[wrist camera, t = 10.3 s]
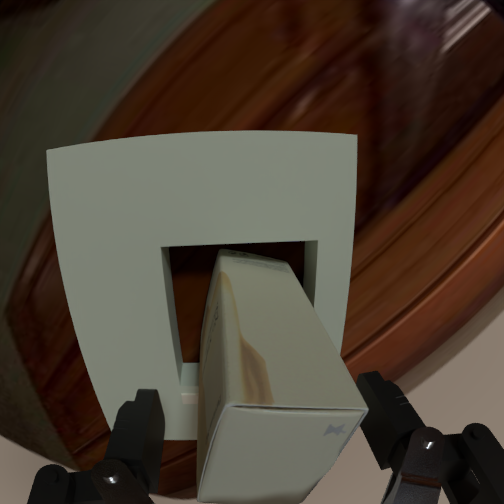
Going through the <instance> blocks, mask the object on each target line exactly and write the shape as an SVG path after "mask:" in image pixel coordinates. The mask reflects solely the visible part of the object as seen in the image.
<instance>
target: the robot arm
mask: <svg viewBox="0 0 504 504" xmlns="http://www.w3.org/2000/svg"><path fill="white" fill-rule="evenodd" d="M356 386H357V388H358V390H359V392H360V394H361V395H362V397H363V399H364V401H365V403H366V405H367V407H368V409H369V410H368V412H367V414H366V416H365V417H364V419H363V420H362V422H361V423H360V427H361V429H362V431H363V433H364V435H365V437H366V439H367V441H368V443H369V446H370V447H371V450H372V452H373V454H374V456H375V458H376V460H377V462H378V464H379V466H380V469H381V470H384V469H387V468H390V467H391V469H392V471H393V473H392V475H391V477H390V480H389V483H388V485H387V488H386V491H385V494H384V496H383V499H382V501H381V504H438V499H439V495H440V491H441V486H442V488H443V490H444V492H445V494H446V496H447V498H448V500H449V502H450V504H504V449H503V448H502V446H501V445H500V443H499V442H498V441H497V439H496V438H495V436H494V435H493V434H492V432H491V431H490V430H489V428H487V427H486V426H485V425H483V424H480V423H472V424H469V425H467V426H466V427H465V428H464V430H463V432H462V433H461V434H450V435H443V434H442V433H441V432H440V431H439V430H437V429H435V428H433V427H426V426H425V424H424V423H423V421H422V420H421V418H420V417H419V416H418V414H417V413H416V411H415V410H414V408H413V407H412V405H411V404H410V403H409V401H408V399H407V398H406V397H404V394H403V392H402V391H401V389H400V388H399V387H398V386H397V385H396V384H394V383H393V382H391V381H390V380H387V381H384V379H383V378H382V376H381V375H380V373H379V372H378V371H373V372H367V373H362V374H359V375H358V378H357V383H356ZM164 434H165V416H164V412H163V408H162V404H161V401H160V397H159V393H158V390H157V389H138V390H137V393H136V397H135V400H134V401H125V403H124V404H123V405H122V406H121V407H120V408H119V409H118V413H117V416H116V421H115V422H114V426H113V429H112V432H111V436H110V439H109V443H108V446H107V450H106V453H105V457H104V459H103V460H101V461H99V462H98V463H96V464H95V465H94V466H93V468H92V469H91V470H88V471H81V472H71V473H68V472H67V471H66V469H65V468H63V467H62V466H59V465H56V464H50V465H46V466H44V467H42V468H41V469H40V470H39V471H38V472H37V474H36V476H35V479H34V483H33V485H32V489H31V492H30V495H29V499H28V502H27V504H154V502H153V501H152V500H151V498H150V497H149V496H148V495H149V493H156V494H157V492H158V483H159V474H160V465H161V457H162V449H163V442H164ZM472 471H473V472H472ZM474 474H475V475H474ZM475 476H476V477H475ZM478 481H479V482H478ZM479 483H480V484H479Z"/></svg>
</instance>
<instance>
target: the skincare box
mask: <svg viewBox="0 0 504 504" xmlns="http://www.w3.org/2000/svg"><path fill="white" fill-rule="evenodd" d="M368 410H369V409H368V407H367V405H366V403H365V401H364V399H363V397H362V395H361V394H360V392H359V390H358V388H357V386H356V385H355V383H354V381H353V379H352V377H351V375H350V374H349V372H348V370H347V368H346V366H345V364H344V362H343V360H342V359H341V357H340V355H339V353H338V351H337V349H336V348H335V346H334V344H333V342H332V340H331V339H330V337H329V335H328V333H327V331H326V330H325V328H324V326H323V324H322V322H321V321H320V319H319V317H318V315H317V313H316V312H315V310H314V308H313V306H312V304H311V303H310V301H309V299H308V297H307V296H306V294H305V292H304V290H303V289H302V287H301V285H300V283H299V281H298V280H297V278H296V276H295V274H294V273H293V271H292V269H291V267H290V266H289V264H288V262H286V261H282V260H278V259H274V258H270V257H265V256H261V255H256V254H251V253H246V252H240V251H234V250H228V249H220V250H219V251H218V254H217V258H216V262H215V266H214V270H213V274H212V278H211V282H210V287H209V291H208V296H207V301H206V307H205V313H204V319H203V325H202V331H201V345H200V370H199V395H198V426H197V501H198V502H203V503H218V504H299V503H301V502H303V501H304V500H305V498H306V497H307V496H308V495H309V494H310V492H311V491H312V490H313V488H314V487H315V486H316V485H317V483H318V482H319V481H320V480H321V479H322V478H323V476H324V475H325V474H326V473H327V472H328V471H329V470H330V469H331V467H332V466H333V465H334V463H335V461H336V460H337V458H338V456H339V455H340V453H341V451H342V450H343V449H344V447H345V446H346V444H347V443H348V441H349V440H350V438H351V437H352V435H353V434H354V432H355V431H356V429H357V428H358V426H359V425H360V423H361V422H362V420H363V419H364V417H365V416H366V414H367V412H368Z"/></svg>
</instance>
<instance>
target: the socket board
mask: <svg viewBox="0 0 504 504" xmlns="http://www.w3.org/2000/svg"><path fill="white" fill-rule="evenodd" d="M47 168H48V182H49V194H50V203H51V212H52V220H53V227H54V234H55V241H56V247H57V253H58V258H59V264H60V269H61V274H62V279H63V283H64V288H65V292H66V297H67V301H68V305H69V309H70V313H71V317H72V321H73V324H74V328H75V331H76V335H77V338H78V342H79V345H80V348H81V352H82V355H83V358H84V361H85V364H86V367H87V370H88V373H89V376H90V379H91V381H92V384H93V387H94V390H95V392H96V395H97V398H98V400H99V403H100V405H101V408H102V410H103V413H104V415H105V417H106V420H107V422H108V425H109V427H110V429H111V431H112V429H113V426H114V422H115V421H116V416H117V413H118V409H119V408H120V407H121V406H122V405H123V404H124V403H125V401H134V400H135V397H136V393H137V390H138V389H157V390H158V393H159V397H160V401H161V404H162V408H163V412H164V416H165V434H164V440H197V426H198V395H199V370H200V363H183V361H182V354H181V348H180V341H179V334H178V326H177V319H176V311H175V303H174V294H173V285H172V276H171V266H170V256H169V246H189V245H211V244H235V243H259V242H285V241H305V257H304V279H303V290H304V292H305V294H306V296H307V297H308V299H309V301H310V303H311V304H312V306H313V308H314V310H315V312H316V313H317V315H318V317H319V319H320V321H321V322H322V324H323V326H324V328H325V330H326V331H327V333H328V335H329V337H330V339H331V340H332V342H333V344H334V346H335V348H336V349H337V351H338V353H339V355H340V351H341V345H342V338H343V331H344V323H345V316H346V308H347V299H348V291H349V281H350V271H351V261H352V249H353V236H354V221H355V202H356V176H357V135H350V134H337V133H321V132H298V131H216V132H193V133H177V134H163V135H152V136H141V137H131V138H123V139H114V140H106V141H99V142H92V143H85V144H79V145H73V146H67V147H61V148H56V149H50V150H47Z"/></svg>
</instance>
